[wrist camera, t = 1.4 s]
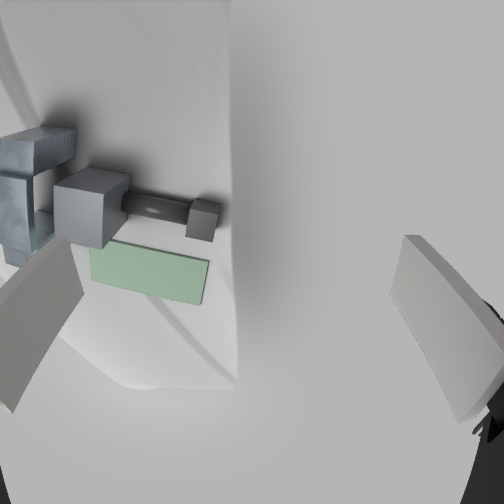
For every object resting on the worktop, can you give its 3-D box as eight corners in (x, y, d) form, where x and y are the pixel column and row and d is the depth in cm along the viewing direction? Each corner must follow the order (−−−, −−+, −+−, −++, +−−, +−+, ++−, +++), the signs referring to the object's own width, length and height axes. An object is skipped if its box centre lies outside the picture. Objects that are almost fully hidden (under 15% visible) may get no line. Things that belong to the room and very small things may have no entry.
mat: (92, 279, 38) (91, 280, 38) (91, 235, 35) (89, 236, 35) (200, 304, 41) (199, 305, 40) (208, 260, 37) (208, 262, 37)
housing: (39, 232, 35) (0, 268, 26) (40, 126, 28) (-12, 141, 19) (72, 240, 35) (35, 280, 27) (76, 129, 29) (26, 144, 20)
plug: (84, 212, 34) (55, 238, 27) (86, 166, 31) (53, 185, 24) (213, 239, 36) (206, 273, 29) (223, 192, 33) (217, 217, 27)
